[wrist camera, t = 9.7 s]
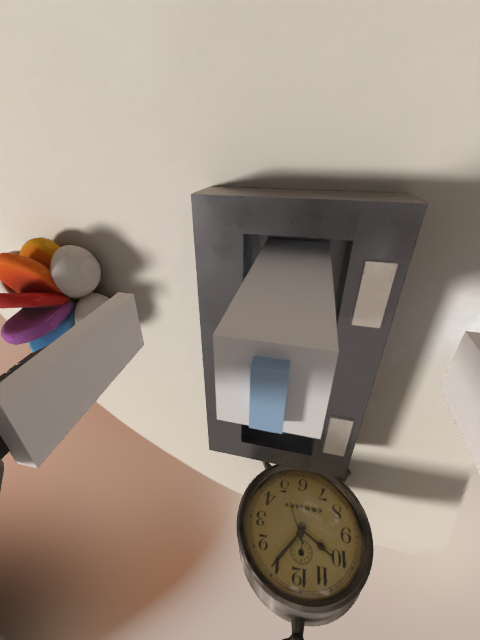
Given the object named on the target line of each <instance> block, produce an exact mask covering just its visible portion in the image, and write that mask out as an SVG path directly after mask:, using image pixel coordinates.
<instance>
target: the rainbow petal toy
mask: <svg viewBox="0 0 480 640" xmlns="http://www.w3.org/2000/svg"><path fill="white" fill-rule="evenodd" d="M100 278H101V269H100V265H99V263H98V261H97V259H96V258H95V257H94V256H93V255H92V254H91V253H90V252H89V251H88V250H86V249H84V248H81V247H78V246H74V245H65V246H62V247H60V246H59V245H57V244H56V243H55V242H53V241H51V240H49V239H46V238H34V239H31V240H29V241H27V242H26V243H25V244H24V245H23V246H22V248H21V250H20V251H12V252H9V253H1V254H0V289H1V290H2V291H3V292H4V293H0V308H19V307H23V308H22V309H21V310H20V311H19V312H17V313H16V314H15V315H14V316H12V317H11V318H10V319H9V320H8V321H6V322H5V324H4V325H3V327H2V330H1V336H2V338H3V339H4V340H5V341H6V342H8V343H10V344H15V345H18V344H23V343H27V342H29V346H30V348H31V350H32V352H35V351H37V350H39V349H41V348H43V347H45V346H48V345H50V344H51V343H52V342H54V341H55V340H56V339H58V338H59V337H60V336H61V335H63V334H64V333H65V332H67V331H68V330H69V329H71V328H72V327H73V326H75V325H76V324H77V323H79V322H80V321H81V320H82V319H84V318H85V317H86V316H88V315H89V314H90V313H92V312H93V311H94V310H96V309H97V308H98V307H99V306H101V305H102V304H103V303H105V302H106V301H107V300H109V299H110V298H108V297H106V296H104V295H102V294H98V293H92V291H93V290H94V289H95V288H96V287H97V286H98V284H99V282H100ZM68 296H69V297H73V298H76V299H69V298H68ZM79 297H80V298H79Z"/></svg>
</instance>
